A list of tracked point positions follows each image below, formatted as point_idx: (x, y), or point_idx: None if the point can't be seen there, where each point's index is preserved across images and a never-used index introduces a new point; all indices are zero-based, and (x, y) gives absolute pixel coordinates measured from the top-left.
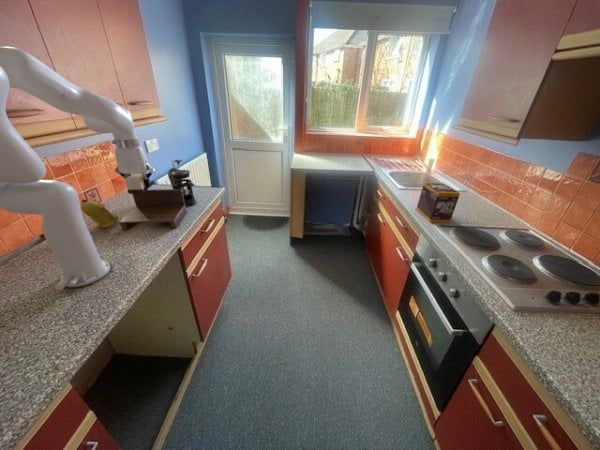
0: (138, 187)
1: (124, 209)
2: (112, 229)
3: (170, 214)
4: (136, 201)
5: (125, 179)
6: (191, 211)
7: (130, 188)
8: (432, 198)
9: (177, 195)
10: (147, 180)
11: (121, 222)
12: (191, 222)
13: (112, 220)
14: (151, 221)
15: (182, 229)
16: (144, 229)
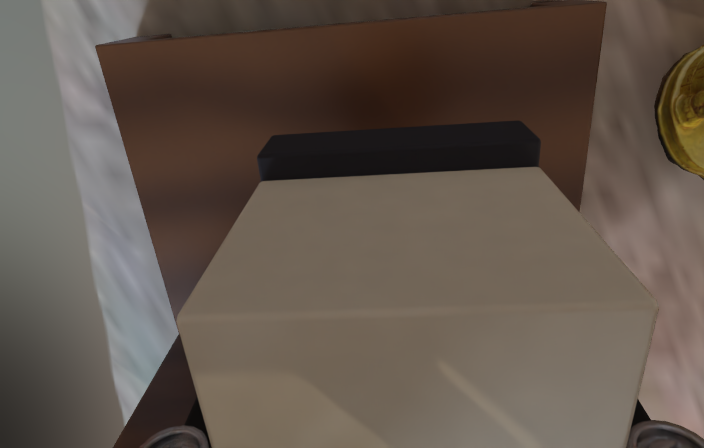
0: (312, 196)
1: (675, 350)
2: (663, 14)
3: (196, 167)
4: None
5: (631, 300)
6: (172, 312)
7: (487, 180)
8: None
9: (182, 399)
10: (192, 425)
11: (584, 3)
12: (73, 141)
13: (693, 72)
14: (301, 27)
15: (73, 17)
16: (386, 15)
